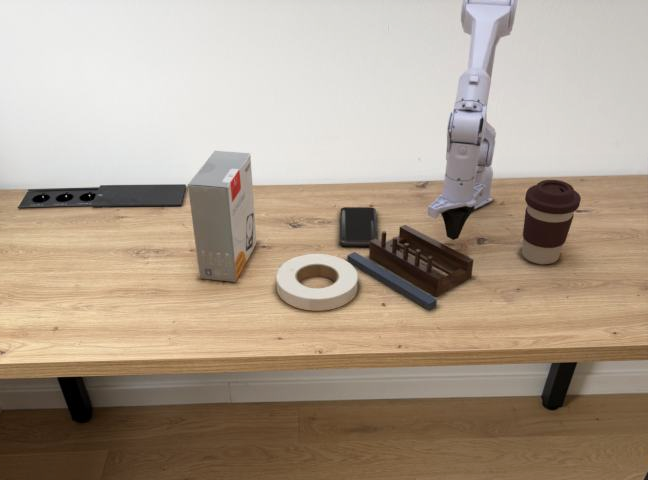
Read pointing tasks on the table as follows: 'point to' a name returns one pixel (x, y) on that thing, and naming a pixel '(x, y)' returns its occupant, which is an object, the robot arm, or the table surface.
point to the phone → (357, 226)
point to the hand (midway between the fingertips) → (452, 237)
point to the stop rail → (392, 281)
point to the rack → (426, 251)
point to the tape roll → (317, 297)
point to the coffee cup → (548, 220)
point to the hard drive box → (223, 215)
